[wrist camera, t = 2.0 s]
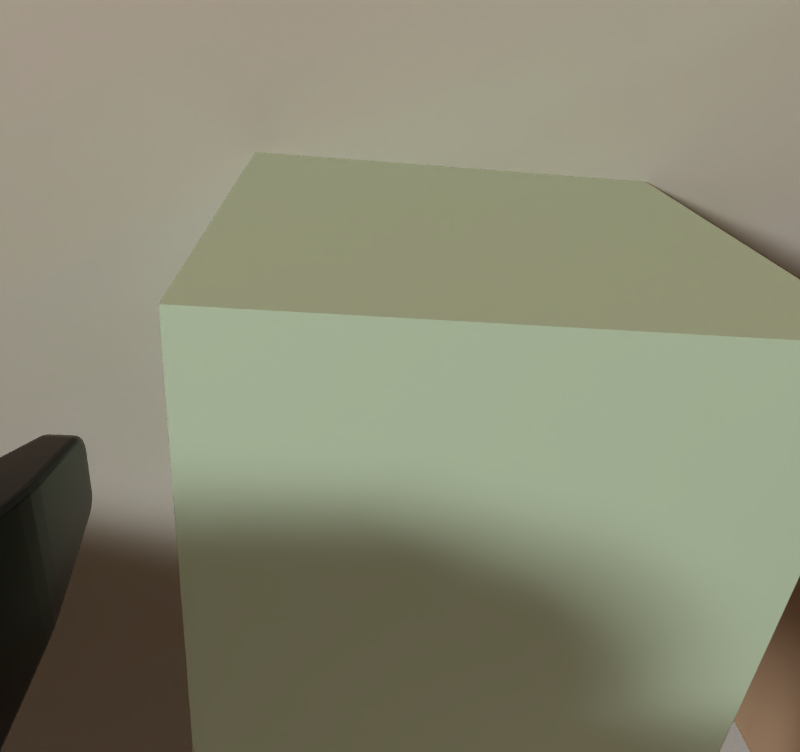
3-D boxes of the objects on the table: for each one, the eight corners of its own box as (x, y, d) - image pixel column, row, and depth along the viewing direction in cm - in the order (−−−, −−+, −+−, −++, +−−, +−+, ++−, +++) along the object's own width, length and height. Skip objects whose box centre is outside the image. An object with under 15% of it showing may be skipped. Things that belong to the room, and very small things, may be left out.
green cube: (258, 479, 13) (196, 794, 8) (256, 151, 11) (159, 303, 5) (569, 490, 14) (700, 792, 9) (644, 181, 11) (904, 346, 6)
